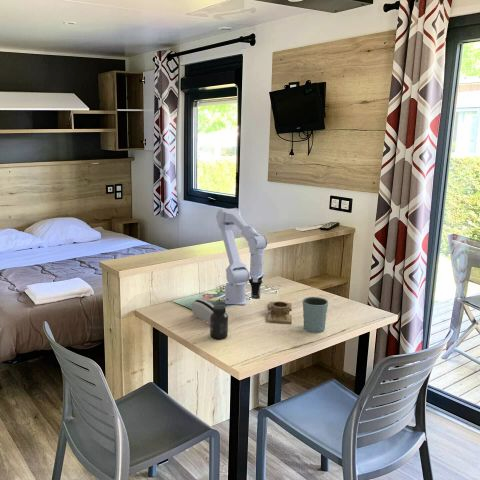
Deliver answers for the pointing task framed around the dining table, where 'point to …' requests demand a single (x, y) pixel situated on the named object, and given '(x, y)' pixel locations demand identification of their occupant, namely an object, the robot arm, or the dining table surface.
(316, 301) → the teal cup
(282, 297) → the dining table surface
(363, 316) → the dining table surface
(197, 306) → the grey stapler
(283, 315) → the hinge leaves
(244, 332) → the dining table surface
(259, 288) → the pin
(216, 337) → the supplement bottle
